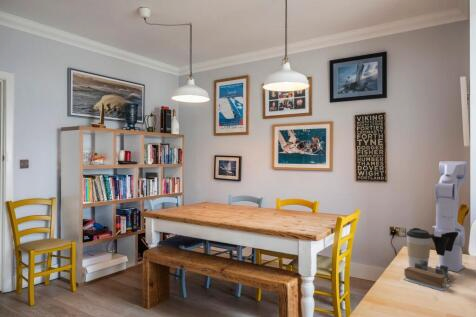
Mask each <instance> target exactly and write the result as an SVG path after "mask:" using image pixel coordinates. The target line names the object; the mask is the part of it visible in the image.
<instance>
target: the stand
mask: <svg viewBox="0 0 476 317" xmlns="http://www.w3.org/2000/svg"><path fill="white" fill-rule="evenodd" d="M415 268H417V269H421V270H425V271H428V268H429V261H428V262H427V261H422V260H420V264H418V263H415ZM434 273H436V274H440V275H444V276H445V278H447V282H449V281H450V280H451V276H449V270H448V266H443V265H440V268H439V267H435V268H434Z"/></svg>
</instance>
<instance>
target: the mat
mask: <svg viewBox="0 0 476 317" xmlns="http://www.w3.org/2000/svg"><path fill="white" fill-rule="evenodd" d="M403 281H407V282H410V283H413V284H416V285H420V286H424V287H427V288H430V289H434V290H438V291H441V292H444V291H445V290H447V289H448V288H449V287H451V284H448V283H447V285H446V286H444V287H442V288H440V287H436V286H433V285H429V284H426V283H422V282H419V281H415V280H412V279H408V278H403Z"/></svg>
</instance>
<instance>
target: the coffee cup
mask: <svg viewBox="0 0 476 317" xmlns="http://www.w3.org/2000/svg"><path fill="white" fill-rule="evenodd" d="M431 240H432V238H431V233H429V231H428V230H426V229H422V228H419V227H413V228H410V229H409V230H408V231H407V232H406V249H407V257H408V258H407V259H408V267H413V268H415V263H418V264H420V260H422V261H427V262H428V263H429V259H430V252H431V245H432V244H431V243H432V242H431Z"/></svg>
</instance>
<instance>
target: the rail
mask: <svg viewBox="0 0 476 317" xmlns="http://www.w3.org/2000/svg"><path fill="white" fill-rule="evenodd" d="M404 277H405V278H408V279H412V280H415V281H419V282H422V283H426V284H429V285H433V286H436V287H440V288H442V287H444V286H446V285H447V284H448V281H447V278H445V276H444V275H440V274H436V273H435V272H433V271H425V270H421V269H417V268H414V267H411V266H408V267H406V268H404Z"/></svg>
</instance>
